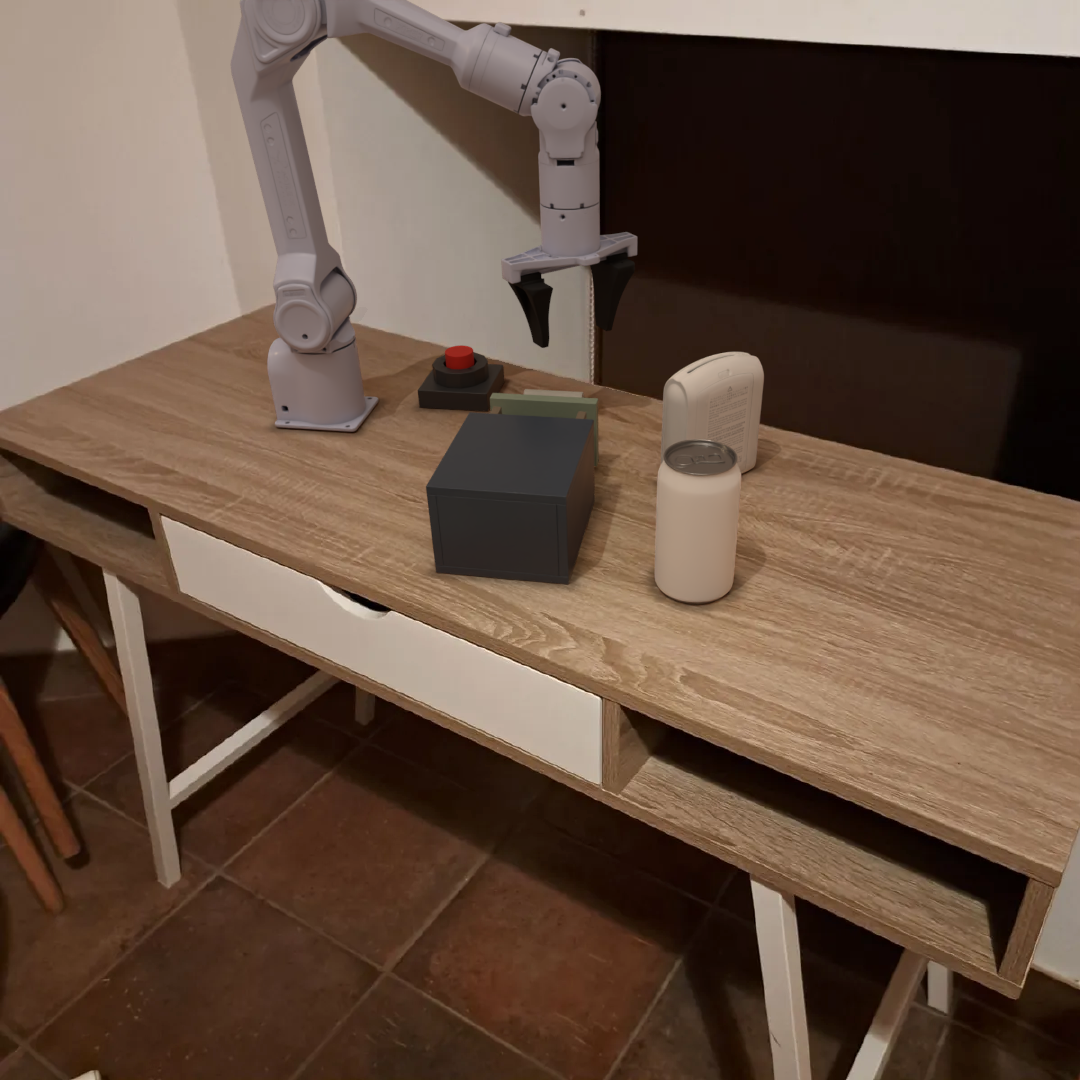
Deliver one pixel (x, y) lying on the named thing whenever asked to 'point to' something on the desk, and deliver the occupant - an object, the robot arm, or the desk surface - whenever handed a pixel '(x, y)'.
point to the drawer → (549, 407)
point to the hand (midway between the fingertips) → (572, 336)
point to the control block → (461, 385)
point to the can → (697, 520)
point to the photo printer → (716, 404)
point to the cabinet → (513, 497)
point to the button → (459, 357)
